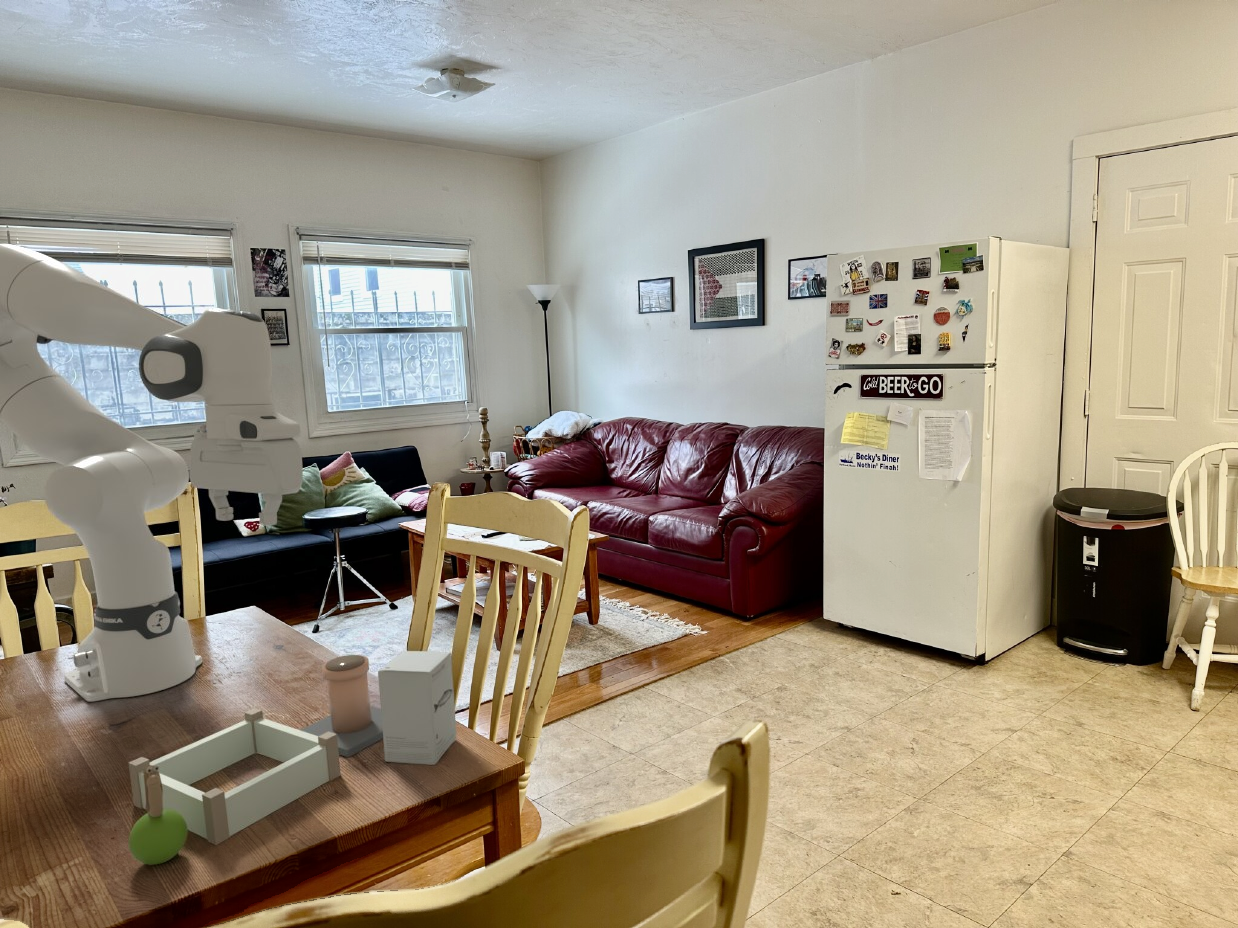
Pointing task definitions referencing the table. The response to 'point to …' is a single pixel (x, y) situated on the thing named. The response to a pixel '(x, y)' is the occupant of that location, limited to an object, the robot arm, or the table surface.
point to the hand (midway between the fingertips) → (246, 522)
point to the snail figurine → (156, 825)
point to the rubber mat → (354, 740)
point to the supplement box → (417, 707)
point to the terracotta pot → (348, 693)
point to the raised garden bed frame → (256, 798)
